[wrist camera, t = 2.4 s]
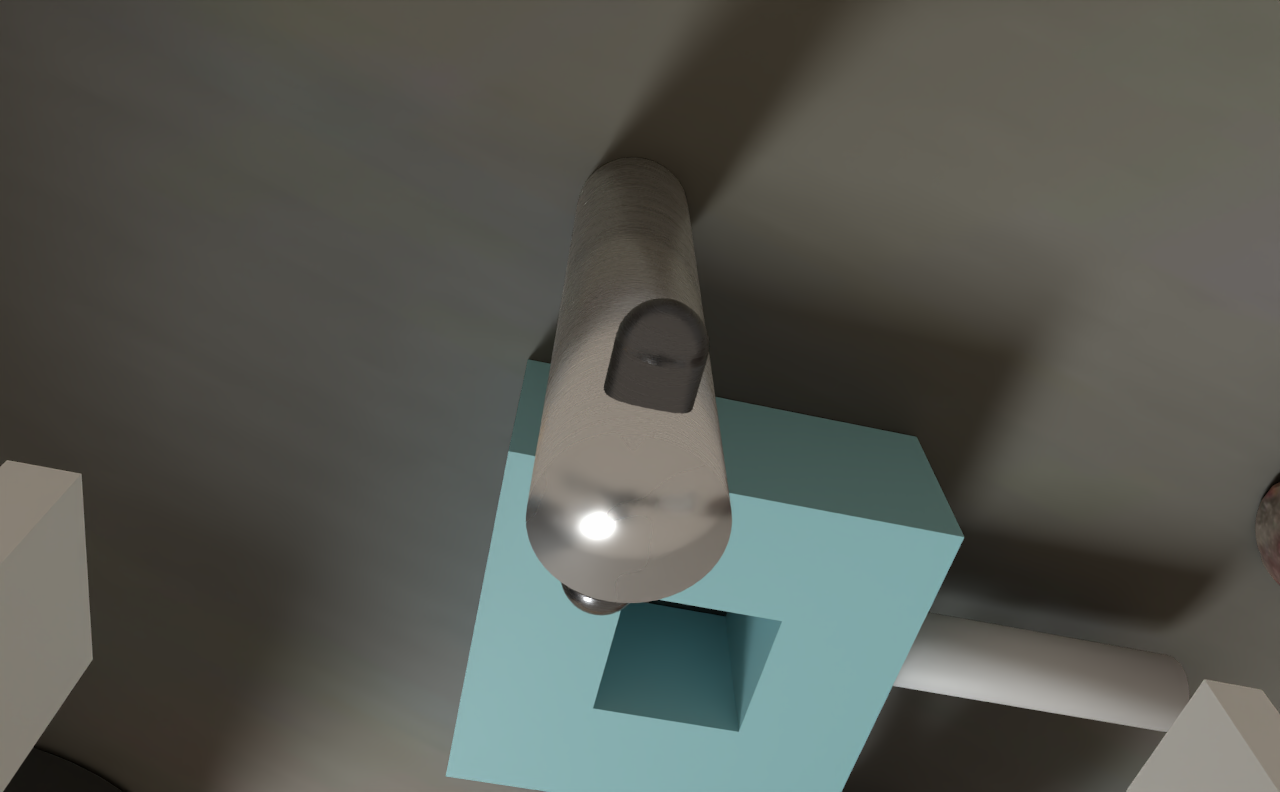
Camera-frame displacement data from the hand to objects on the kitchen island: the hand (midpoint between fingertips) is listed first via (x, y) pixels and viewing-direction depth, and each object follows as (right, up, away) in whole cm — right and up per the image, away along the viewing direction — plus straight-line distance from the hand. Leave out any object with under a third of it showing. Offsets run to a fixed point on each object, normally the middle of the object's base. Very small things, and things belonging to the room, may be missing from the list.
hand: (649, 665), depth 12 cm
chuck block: (+6, -3, +21) cm, 22 cm away
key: (0, +8, +15) cm, 17 cm away
